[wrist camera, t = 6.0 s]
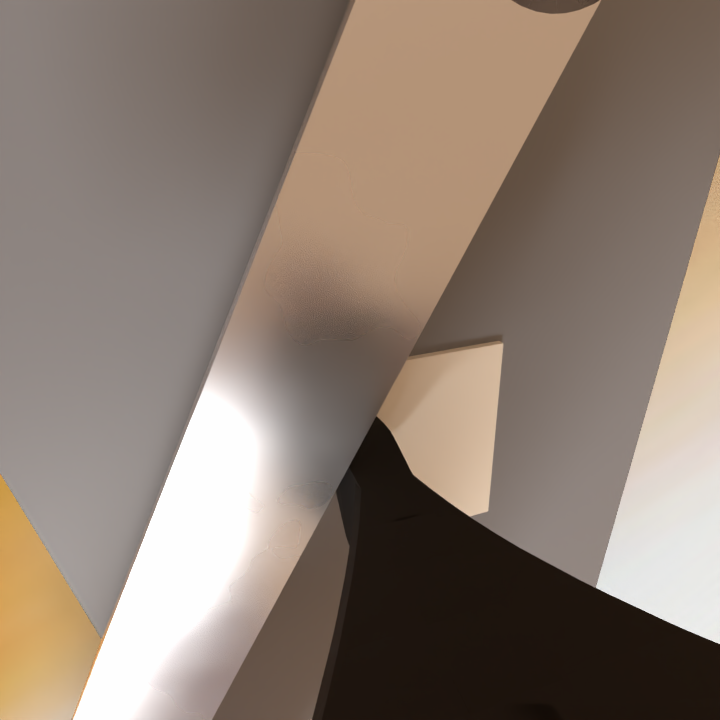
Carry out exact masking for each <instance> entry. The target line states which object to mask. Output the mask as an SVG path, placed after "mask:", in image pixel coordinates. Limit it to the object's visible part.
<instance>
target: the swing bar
mask: <svg viewBox="0 0 720 720" xmlns="http://www.w3.org/2000/svg"><path fill="white" fill-rule="evenodd" d="M600 1H601V0H350V2H349V4H348V7H347V10H346V12H345V15H344V17H343V20H342V22H341V25H340V28H339V30H338V33H337V35H336V38H335V40H334V43H333V46H332V48H331V51H330V53H329V56H328V58H327V61H326V64H325V66H324V69H323V71H322V74H321V76H320V79H319V82H318V84H317V87H316V89H315V92H314V94H313V97H312V100H311V102H310V105H309V107H308V110H307V112H306V115H305V118H304V120H303V123H302V125H301V128H300V130H299V133H298V136H297V138H296V141H295V143H294V146H293V148H292V151H291V154H290V156H289V159H288V161H287V164H286V166H285V169H284V172H283V174H282V177H281V179H280V182H279V184H278V187H277V190H276V192H275V195H274V197H273V200H272V202H271V205H270V208H269V210H268V213H267V215H266V218H265V220H264V223H263V226H262V228H261V231H260V233H259V236H258V238H257V241H256V244H255V246H254V249H253V251H252V254H251V256H250V259H249V262H248V264H247V267H246V269H245V272H244V274H243V277H242V280H241V282H240V285H239V287H238V290H237V293H236V295H235V298H234V300H233V303H232V305H231V308H230V311H229V313H228V316H227V318H226V321H225V323H224V326H223V329H222V331H221V334H220V336H219V339H218V341H217V344H216V347H215V349H214V352H213V354H212V357H211V359H210V362H209V365H208V367H207V370H206V372H205V375H204V377H203V380H202V383H201V385H200V388H199V390H198V393H197V395H196V398H195V401H194V403H193V406H192V408H191V411H190V413H189V416H188V419H187V421H186V424H185V426H184V429H183V431H182V434H181V437H180V439H179V442H178V444H177V447H176V449H175V452H174V455H173V457H172V460H171V462H170V465H169V467H168V470H167V473H166V475H165V478H164V480H163V483H162V485H161V488H160V491H159V493H158V496H157V498H156V501H155V503H154V506H153V509H152V511H151V514H150V516H149V519H148V521H147V524H146V527H145V529H144V532H143V534H142V537H141V539H140V542H139V545H138V547H137V550H136V552H135V555H134V557H133V560H132V563H131V565H130V568H129V570H128V573H127V575H126V578H125V581H124V583H123V586H122V588H121V591H120V594H119V596H118V599H117V601H116V604H115V606H114V609H113V612H112V614H111V617H110V619H109V622H108V624H107V627H106V630H105V632H104V635H103V637H102V640H101V642H100V645H99V648H98V650H97V653H96V656H95V658H94V661H93V664H92V666H91V669H90V672H89V674H88V677H87V680H86V683H85V685H84V688H83V691H82V693H81V696H80V699H79V701H78V704H77V707H76V709H75V712H74V715H73V717H72V720H212V719H213V717H214V715H215V713H216V711H217V710H218V708H219V706H220V704H221V702H222V700H223V698H224V697H225V695H226V693H227V691H228V689H229V687H230V685H231V684H232V682H233V680H234V678H235V676H236V674H237V673H238V671H239V669H240V667H241V665H242V663H243V661H244V660H245V658H246V656H247V654H248V652H249V650H250V648H251V647H252V645H253V643H254V641H255V639H256V637H257V636H258V634H259V632H260V630H261V628H262V626H263V624H264V623H265V621H266V619H267V617H268V615H269V613H270V612H271V610H272V608H273V606H274V604H275V602H276V600H277V599H278V597H279V595H280V593H281V591H282V589H283V587H284V586H285V584H286V582H287V580H288V578H289V576H290V575H291V573H292V571H293V569H294V567H295V565H296V563H297V562H298V560H299V558H300V556H301V554H302V552H303V551H304V549H305V547H306V545H307V543H308V541H309V539H310V538H311V536H312V534H313V532H314V530H315V528H316V526H317V525H318V523H319V521H320V519H321V517H322V515H323V514H324V512H325V510H326V508H327V506H328V504H329V502H330V501H331V499H332V497H333V495H334V493H335V491H336V490H337V488H338V486H339V484H340V482H341V480H342V478H343V477H344V475H345V473H346V471H347V469H348V467H349V465H350V464H351V462H352V460H353V458H354V456H355V454H356V453H357V451H358V449H359V447H360V445H361V443H362V441H363V440H364V438H365V436H366V434H367V432H368V430H369V429H370V427H371V425H372V423H373V421H374V419H375V417H376V416H377V414H378V412H379V410H380V408H381V406H382V404H383V403H384V401H385V399H386V397H387V395H388V393H389V392H390V390H391V388H392V386H393V384H394V382H395V380H396V379H397V377H398V375H399V373H400V371H401V369H402V368H403V366H404V364H405V362H406V360H407V358H408V356H409V355H410V353H411V351H412V349H413V347H414V345H415V343H416V342H417V340H418V338H419V336H420V334H421V332H422V331H423V329H424V327H425V325H426V323H427V321H428V319H429V318H430V316H431V314H432V312H433V310H434V308H435V306H436V305H437V303H438V301H439V299H440V297H441V295H442V294H443V292H444V290H445V288H446V286H447V284H448V282H449V281H450V279H451V277H452V275H453V273H454V271H455V270H456V268H457V266H458V264H459V262H460V260H461V258H462V257H463V255H464V253H465V251H466V249H467V247H468V245H469V244H470V242H471V240H472V238H473V236H474V234H475V233H476V231H477V229H478V227H479V225H480V223H481V221H482V220H483V218H484V216H485V214H486V212H487V210H488V209H489V207H490V205H491V203H492V201H493V199H494V197H495V196H496V194H497V192H498V190H499V188H500V186H501V184H502V183H503V181H504V179H505V177H506V175H507V173H508V172H509V170H510V168H511V166H512V164H513V162H514V160H515V159H516V157H517V155H518V153H519V151H520V149H521V148H522V146H523V144H524V142H525V140H526V138H527V136H528V135H529V133H530V131H531V129H532V127H533V125H534V123H535V122H536V120H537V118H538V116H539V114H540V112H541V111H542V109H543V107H544V105H545V103H546V101H547V99H548V98H549V96H550V94H551V92H552V90H553V88H554V87H555V85H556V83H557V81H558V79H559V77H560V75H561V74H562V72H563V70H564V68H565V66H566V64H567V62H568V61H569V59H570V57H571V55H572V53H573V51H574V50H575V48H576V46H577V44H578V42H579V40H580V38H581V37H582V35H583V33H584V31H585V29H586V27H587V25H588V24H589V22H590V20H591V18H592V16H593V14H594V13H595V11H596V9H597V7H598V5H599V3H600Z"/></svg>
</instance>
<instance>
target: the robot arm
mask: <svg viewBox="0 0 720 720" xmlns="http://www.w3.org/2000/svg"><path fill="white" fill-rule="evenodd" d="M336 495H337V499H338V503H339V508H340V512H341V517H342V521H343V525H344V530H345V534H346V538H347V541H348V544H349V554H348V560H347V566H346V572H345V578H344V583H343V588H342V593H341V599H340V604H339V609H338V614H337V619H336V623H335V628H334V633H333V637H332V642H331V646H330V650H329V654H328V658H327V662H326V666H325V670H324V674H323V678H322V682H321V686H320V690H319V694H318V698H317V702H316V706H315V710H314V713H313V717H312V720H720V644H718V643H715V642H713V641H711V640H708V639H706V638H703V637H701V636H699V635H696V634H694V633H691V632H689V631H687V630H684V629H682V628H680V627H678V626H675V625H673V624H671V623H669V622H666V621H664V620H662V619H660V618H658V617H656V616H654V615H651V614H649V613H647V612H645V611H643V610H641V609H639V608H637V607H634V606H632V605H630V604H628V603H626V602H624V601H622V600H619V599H617V598H615V597H613V596H611V595H609V594H607V593H605V592H603V591H601V590H599V589H597V588H595V587H593V586H591V585H589V584H587V583H585V582H583V581H581V580H579V579H577V578H575V577H573V576H571V575H570V574H568V573H566V572H564V571H562V570H560V569H558V568H557V567H555V566H553V565H551V564H549V563H547V562H545V561H543V560H542V559H540V558H538V557H536V556H534V555H532V554H530V553H529V552H527V551H525V550H523V549H521V548H519V547H518V546H516V545H514V544H513V543H511V542H509V541H508V540H506V539H504V538H503V537H501V536H499V535H498V534H496V533H494V532H493V531H491V530H490V529H488V528H487V527H485V526H483V525H482V524H480V523H479V522H477V521H476V520H474V519H473V518H471V517H470V516H468V515H467V514H465V513H464V512H462V511H461V510H459V509H458V508H456V507H455V506H454V505H452V504H451V503H449V502H448V501H447V500H445V499H444V498H443V497H441V496H440V495H439V494H437V493H436V492H435V491H433V490H432V489H431V488H429V487H428V486H427V485H425V484H424V483H423V482H422V481H420V480H419V479H418V478H417V477H415V476H414V475H413V474H412V472H411V470H410V468H409V466H408V464H407V462H406V460H405V458H404V456H403V454H402V452H401V450H400V448H399V446H398V444H397V442H396V440H395V438H394V436H393V435H392V433H391V431H390V430H389V429H388V427H387V426H386V425H385V424H384V423H383V422H382V421H381V420H380V419H379V418H378V417H377V416H376V417H375V419H374V421H373V423H372V425H371V427H370V429H369V430H368V432H367V434H366V436H365V438H364V440H363V441H362V443H361V445H360V447H359V449H358V451H357V453H356V454H355V456H354V458H353V460H352V462H351V464H350V465H349V467H348V469H347V471H346V473H345V475H344V477H343V478H342V480H341V482H340V484H339V486H338V488H337V490H336Z"/></svg>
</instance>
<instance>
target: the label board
mask: <svg viewBox="0 0 720 720" xmlns="http://www.w3.org/2000/svg"><path fill="white" fill-rule="evenodd" d="M349 2H350V0H0V474H1V475H2V477H3V479H4V480H5V482H6V484H7V485H8V487H9V488H10V490H11V492H12V493H13V495H14V497H15V498H16V500H17V502H18V503H19V505H20V507H21V508H22V510H23V511H24V513H25V515H26V516H27V518H28V520H29V521H30V523H31V525H32V526H33V528H34V529H35V531H36V533H37V534H38V536H39V538H40V539H41V541H42V543H43V544H44V546H45V547H46V549H47V551H48V552H49V554H50V556H51V557H52V559H53V561H54V562H55V564H56V565H57V567H58V569H59V570H60V572H61V574H62V575H63V577H64V579H65V580H66V582H67V583H68V585H69V587H70V588H71V590H72V592H73V593H74V595H75V597H76V598H77V600H78V601H79V603H80V605H81V606H82V608H83V610H84V611H85V613H86V615H87V616H88V618H89V619H90V621H91V623H92V624H93V626H94V628H95V629H96V631H97V633H98V634H99V636H100V638H101V639H102V637H103V635H104V632H105V630H106V627H107V624H108V622H109V619H110V617H111V614H112V612H113V609H114V606H115V604H116V601H117V599H118V596H119V594H120V591H121V588H122V586H123V583H124V581H125V578H126V575H127V573H128V570H129V568H130V565H131V563H132V560H133V557H134V555H135V552H136V550H137V547H138V545H139V542H140V539H141V537H142V534H143V532H144V529H145V527H146V524H147V521H148V519H149V516H150V514H151V511H152V509H153V506H154V503H155V501H156V498H157V496H158V493H159V491H160V488H161V485H162V483H163V480H164V478H165V475H166V473H167V470H168V467H169V465H170V462H171V460H172V457H173V455H174V452H175V449H176V447H177V444H178V442H179V439H180V437H181V434H182V431H183V429H184V426H185V424H186V421H187V419H188V416H189V413H190V411H191V408H192V406H193V403H194V401H195V398H196V395H197V393H198V390H199V388H200V385H201V383H202V380H203V377H204V375H205V372H206V370H207V367H208V365H209V362H210V359H211V357H212V354H213V352H214V349H215V347H216V344H217V341H218V339H219V336H220V334H221V331H222V329H223V326H224V323H225V321H226V318H227V316H228V313H229V311H230V308H231V305H232V303H233V300H234V298H235V295H236V293H237V290H238V287H239V285H240V282H241V280H242V277H243V274H244V272H245V269H246V267H247V264H248V262H249V259H250V256H251V254H252V251H253V249H254V246H255V244H256V241H257V238H258V236H259V233H260V231H261V228H262V226H263V223H264V220H265V218H266V215H267V213H268V210H269V208H270V205H271V202H272V200H273V197H274V195H275V192H276V190H277V187H278V184H279V182H280V179H281V177H282V174H283V172H284V169H285V166H286V164H287V161H288V159H289V156H290V154H291V151H292V148H293V146H294V143H295V141H296V138H297V136H298V133H299V130H300V128H301V125H302V123H303V120H304V118H305V115H306V112H307V110H308V107H309V105H310V102H311V100H312V97H313V94H314V92H315V89H316V87H317V84H318V82H319V79H320V76H321V74H322V71H323V69H324V66H325V64H326V61H327V58H328V56H329V53H330V51H331V48H332V46H333V43H334V40H335V38H336V35H337V33H338V30H339V28H340V25H341V22H342V20H343V17H344V15H345V12H346V10H347V7H348V4H349ZM719 155H720V0H601V1H600V3H599V5H598V7H597V9H596V11H595V13H594V14H593V16H592V18H591V20H590V22H589V24H588V25H587V27H586V29H585V31H584V33H583V35H582V37H581V38H580V40H579V42H578V44H577V46H576V48H575V50H574V51H573V53H572V55H571V57H570V59H569V61H568V62H567V64H566V66H565V68H564V70H563V72H562V74H561V75H560V77H559V79H558V81H557V83H556V85H555V87H554V88H553V90H552V92H551V94H550V96H549V98H548V99H547V101H546V103H545V105H544V107H543V109H542V111H541V112H540V114H539V116H538V118H537V120H536V122H535V123H534V125H533V127H532V129H531V131H530V133H529V135H528V136H527V138H526V140H525V142H524V144H523V146H522V148H521V149H520V151H519V153H518V155H517V157H516V159H515V160H514V162H513V164H512V166H511V168H510V170H509V172H508V173H507V175H506V177H505V179H504V181H503V183H502V184H501V186H500V188H499V190H498V192H497V194H496V196H495V197H494V199H493V201H492V203H491V205H490V207H489V209H488V210H487V212H486V214H485V216H484V218H483V220H482V221H481V223H480V225H479V227H478V229H477V231H476V233H475V234H474V236H473V238H472V240H471V242H470V244H469V245H468V247H467V249H466V251H465V253H464V255H463V257H462V258H461V260H460V262H459V264H458V266H457V268H456V270H455V271H454V273H453V275H452V277H451V279H450V281H449V282H448V284H447V286H446V288H445V290H444V292H443V294H442V295H441V297H440V299H439V301H438V303H437V305H436V306H435V308H434V310H433V312H432V314H431V316H430V318H429V319H428V321H427V323H426V325H425V327H424V329H423V331H422V332H421V334H420V336H419V338H418V340H417V342H416V343H415V345H414V347H413V349H412V351H411V353H410V355H409V356H408V358H407V360H406V362H405V364H404V366H403V368H402V369H401V371H400V373H399V375H398V377H397V379H396V380H395V382H394V384H393V386H392V388H391V390H390V392H389V393H388V395H387V397H386V399H385V401H384V403H383V404H382V406H381V408H380V410H379V412H378V414H377V417H378V418H379V419H380V420H381V421H382V422H383V423H384V424H385V425H386V426H387V427H388V429H389V430H390V431H391V433H392V435H393V436H394V438H395V440H396V442H397V444H398V446H399V448H400V450H401V452H402V454H403V456H404V458H405V460H406V462H407V464H408V466H409V468H410V470H411V472H412V474H413V475H414V476H415V477H417V478H418V479H419V480H420V481H422V482H423V483H424V484H425V485H427V486H428V487H429V488H431V489H432V490H433V491H435V492H436V493H437V494H439V495H440V496H441V497H443V498H444V499H445V500H447V501H448V502H449V503H451V504H452V505H454V506H455V507H456V508H458V509H459V510H461V511H462V512H464V513H465V514H467V515H468V516H470V517H471V518H473V519H474V520H476V521H477V522H479V523H480V524H482V525H483V526H485V527H487V528H488V529H490V530H491V531H493V532H494V533H496V534H498V535H499V536H501V537H503V538H504V539H506V540H508V541H509V542H511V543H513V544H514V545H516V546H518V547H519V548H521V549H523V550H525V551H527V552H529V553H530V554H532V555H534V556H536V557H538V558H540V559H542V560H543V561H545V562H547V563H549V564H551V565H553V566H555V567H557V568H558V569H560V570H562V571H564V572H566V573H568V574H570V575H571V576H573V577H575V578H577V579H579V580H581V581H583V582H585V583H587V584H589V585H591V586H593V587H595V588H596V584H597V581H598V577H599V574H600V570H601V567H602V563H603V560H604V557H605V553H606V550H607V546H608V543H609V539H610V536H611V532H612V529H613V525H614V522H615V518H616V515H617V511H618V508H619V504H620V501H621V497H622V494H623V490H624V487H625V483H626V480H627V476H628V473H629V469H630V466H631V462H632V459H633V455H634V452H635V448H636V445H637V441H638V438H639V434H640V431H641V427H642V424H643V420H644V417H645V413H646V410H647V406H648V403H649V399H650V396H651V392H652V389H653V385H654V382H655V378H656V375H657V371H658V368H659V364H660V361H661V357H662V354H663V350H664V347H665V343H666V340H667V336H668V333H669V329H670V326H671V322H672V319H673V315H674V312H675V308H676V305H677V301H678V298H679V295H680V291H681V288H682V284H683V281H684V277H685V274H686V270H687V267H688V263H689V260H690V256H691V253H692V249H693V246H694V242H695V239H696V235H697V232H698V228H699V225H700V221H701V218H702V214H703V211H704V207H705V204H706V200H707V197H708V193H709V190H710V186H711V183H712V179H713V176H714V172H715V169H716V165H717V162H718V158H719ZM348 554H349V544H348V541H347V538H346V534H345V530H344V525H343V521H342V517H341V512H340V508H339V503H338V499H337V495H336V491H335V493H334V495H333V497H332V499H331V501H330V502H329V504H328V506H327V508H326V510H325V512H324V514H323V515H322V517H321V519H320V521H319V523H318V525H317V526H316V528H315V530H314V532H313V534H312V536H311V538H310V539H309V541H308V543H307V545H306V547H305V549H304V551H303V552H302V554H301V556H300V558H299V560H298V562H297V563H296V565H295V567H294V569H293V571H292V573H291V575H290V576H289V578H288V580H287V582H286V584H285V586H284V587H283V589H282V591H281V593H280V595H279V597H278V599H277V600H276V602H275V604H274V606H273V608H272V610H271V612H270V613H269V615H268V617H267V619H266V621H265V623H264V624H263V626H262V628H261V630H260V632H259V634H258V636H257V637H256V639H255V641H254V643H253V645H252V647H251V648H250V650H249V652H248V654H247V656H246V658H245V660H244V661H243V663H242V665H241V667H240V669H239V671H238V673H237V674H236V676H235V678H234V680H233V682H232V684H231V685H230V687H229V689H228V691H227V693H226V695H225V697H224V698H223V700H222V702H221V704H220V706H219V708H218V710H217V711H216V713H215V715H214V717H213V719H212V720H311V719H312V717H313V713H314V710H315V706H316V702H317V698H318V694H319V690H320V686H321V682H322V678H323V674H324V670H325V666H326V662H327V658H328V654H329V650H330V646H331V642H332V637H333V633H334V628H335V623H336V619H337V614H338V609H339V604H340V599H341V593H342V588H343V583H344V578H345V572H346V566H347V560H348Z"/></svg>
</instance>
